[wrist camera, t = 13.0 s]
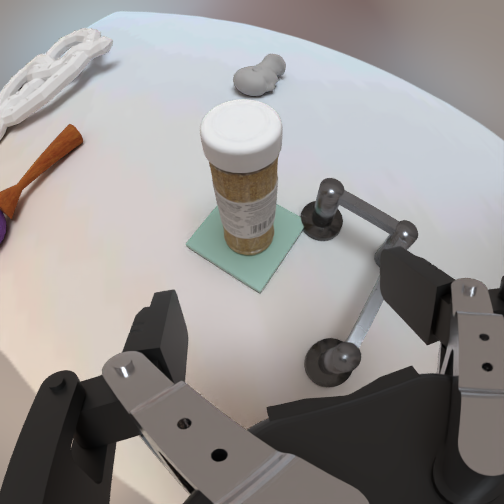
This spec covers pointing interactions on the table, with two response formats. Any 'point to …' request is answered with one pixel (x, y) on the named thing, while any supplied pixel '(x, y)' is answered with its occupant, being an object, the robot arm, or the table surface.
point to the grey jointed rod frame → (401, 234)
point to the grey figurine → (260, 76)
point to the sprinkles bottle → (244, 170)
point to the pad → (247, 266)
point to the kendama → (37, 171)
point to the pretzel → (49, 75)
